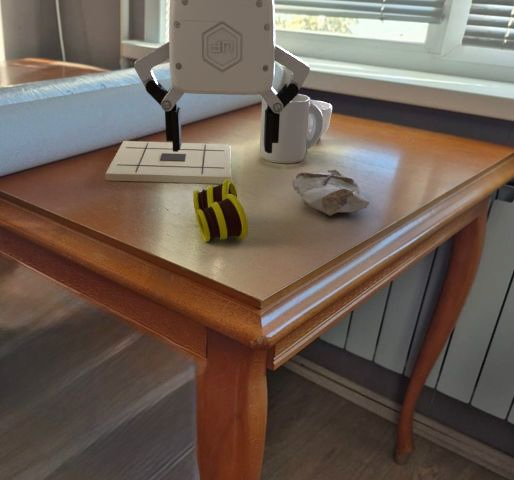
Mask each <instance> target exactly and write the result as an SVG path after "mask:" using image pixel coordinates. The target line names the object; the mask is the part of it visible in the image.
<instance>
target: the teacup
mask: <svg viewBox="0 0 514 480" xmlns="http://www.w3.org/2000/svg"><path fill="white" fill-rule="evenodd" d="M310 103H313V104H315V105H317V106H318V107H319V109H320V110H321V113H322V118H323V127H322V133H321V136H320V138H322V137H324V136H325V135H326V133H327V132H328V130H329V127H330V125H331V124H330V123H331V119H332V113H333V105H332V104H331V103H328V102H326V101H321V100H314V99H310ZM312 129H313V117H312V115H311V114H309V118H308V129H307V138H308V137H309V136H310V135H311V132H312Z"/></svg>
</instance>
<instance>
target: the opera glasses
mask: <svg viewBox="0 0 514 480" xmlns="http://www.w3.org/2000/svg"><path fill="white" fill-rule="evenodd" d="M192 198H193V207H194V212H195V218H196V223H197V226H198V229H199V233H200V236H201V237H202V240H203V242H205V243H207V242H209V241H210V240H211V239H213V240H216V239H219V240H226V239H227V238H233V237H235V238H236V239H238V240H243V239H246V237H247V235H248V232H249V222H248V217H247V214H246V211H245V209H244V207H243V205H242V203H241V202H240V200H239V199H238V192H237V188H236V184H235V183H234V182H233V180H232V179H231V180H230V179H226V180H224V182H223V184H217V185H214V184H213V185H210V186H208V187H207V188H206V189H205V188H203V189H202V190H201V191H200V190H199V189H197V190H193V193H192Z"/></svg>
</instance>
